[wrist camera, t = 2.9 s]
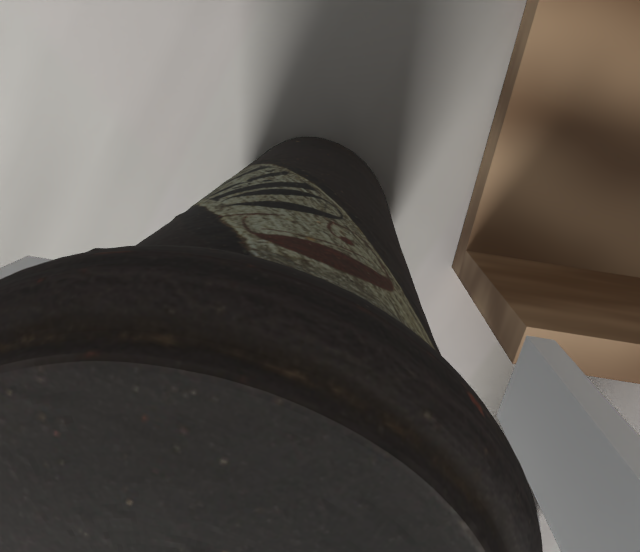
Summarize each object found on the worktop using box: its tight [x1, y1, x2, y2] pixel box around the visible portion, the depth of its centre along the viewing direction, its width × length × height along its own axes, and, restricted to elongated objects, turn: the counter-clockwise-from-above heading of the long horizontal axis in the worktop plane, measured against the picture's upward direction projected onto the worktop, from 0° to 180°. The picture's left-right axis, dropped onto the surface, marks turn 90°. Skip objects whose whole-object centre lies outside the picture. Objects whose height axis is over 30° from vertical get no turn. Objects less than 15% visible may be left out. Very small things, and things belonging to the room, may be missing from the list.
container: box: [0, 137, 543, 552], centre depth 14 cm, size 9×9×20 cm
